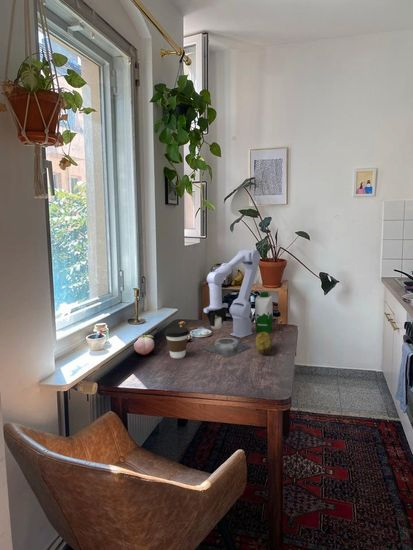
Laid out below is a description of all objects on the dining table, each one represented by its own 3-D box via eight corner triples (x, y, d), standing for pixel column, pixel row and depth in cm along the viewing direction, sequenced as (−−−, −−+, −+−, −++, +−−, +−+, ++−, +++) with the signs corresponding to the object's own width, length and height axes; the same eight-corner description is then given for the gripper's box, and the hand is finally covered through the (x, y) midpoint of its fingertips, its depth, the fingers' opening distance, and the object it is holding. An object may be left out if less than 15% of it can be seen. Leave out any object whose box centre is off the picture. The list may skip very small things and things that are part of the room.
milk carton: (273, 328, 217) (273, 292, 214) (271, 333, 208) (270, 295, 205) (257, 327, 220) (256, 291, 216) (254, 332, 211) (253, 295, 208)
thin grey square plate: (225, 340, 200) (225, 333, 199) (251, 348, 188) (250, 340, 188) (202, 349, 189) (201, 341, 188) (227, 357, 178) (227, 349, 177)
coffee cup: (186, 361, 175) (185, 334, 173) (162, 359, 177) (161, 333, 175) (192, 352, 186) (191, 326, 184) (169, 351, 188) (168, 326, 186)
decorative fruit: (152, 350, 190) (151, 329, 188) (156, 355, 182) (155, 334, 181) (132, 353, 187) (130, 332, 185) (135, 359, 179) (134, 337, 178)
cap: (216, 325, 200) (216, 315, 200) (223, 327, 197) (223, 316, 196) (209, 327, 197) (208, 317, 196) (216, 329, 194) (216, 318, 193)
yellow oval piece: (251, 355, 179) (250, 337, 178) (257, 345, 191) (257, 329, 190) (269, 357, 176) (269, 339, 175) (275, 347, 188) (275, 330, 187)
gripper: (220, 293, 202) (221, 320, 204) (198, 298, 193) (199, 326, 195) (230, 295, 197) (231, 322, 199) (209, 300, 187) (210, 329, 190)
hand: (216, 324), depth 197 cm, fingers closed on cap, 5 cm apart
